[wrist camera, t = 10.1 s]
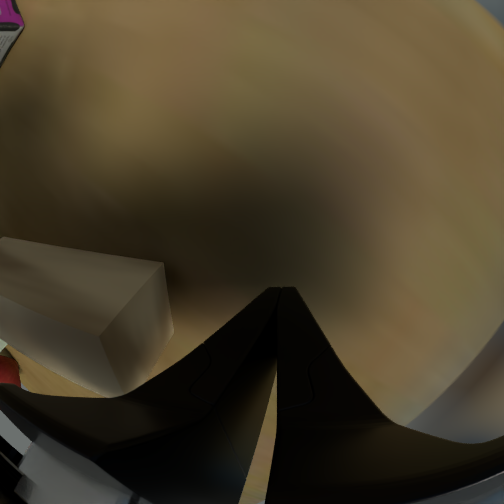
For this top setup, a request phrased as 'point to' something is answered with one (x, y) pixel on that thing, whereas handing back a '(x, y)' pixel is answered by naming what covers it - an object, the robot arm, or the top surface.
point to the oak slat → (84, 313)
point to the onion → (9, 371)
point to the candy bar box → (9, 26)
